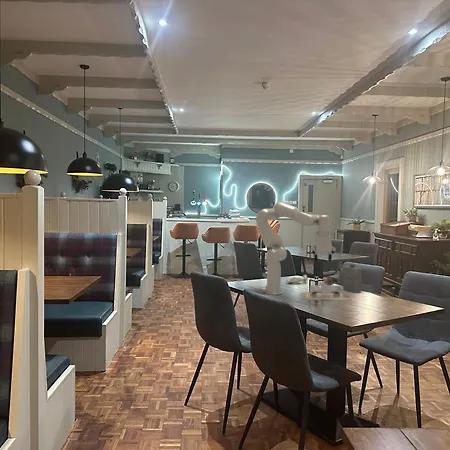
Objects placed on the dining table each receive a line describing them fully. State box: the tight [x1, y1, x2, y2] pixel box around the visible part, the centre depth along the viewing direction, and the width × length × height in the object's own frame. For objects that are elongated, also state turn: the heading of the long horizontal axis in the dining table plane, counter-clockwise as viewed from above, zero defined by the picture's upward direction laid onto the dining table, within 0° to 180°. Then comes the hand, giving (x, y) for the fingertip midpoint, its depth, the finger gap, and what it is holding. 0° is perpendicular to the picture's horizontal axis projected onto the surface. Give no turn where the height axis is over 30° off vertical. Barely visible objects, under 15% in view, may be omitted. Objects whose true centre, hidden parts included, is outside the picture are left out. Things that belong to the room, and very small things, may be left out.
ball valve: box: [299, 280, 352, 301], centre depth 289 cm, size 30×16×12 cm, turn 93°
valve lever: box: [322, 277, 334, 286], centre depth 284 cm, size 14×3×4 cm, turn 3°
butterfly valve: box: [285, 258, 309, 285], centre depth 340 cm, size 9×20×17 cm
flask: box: [342, 263, 363, 294], centre depth 312 cm, size 15×6×20 cm, turn 32°
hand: (322, 260), depth 278 cm, fingers open, 8 cm apart
